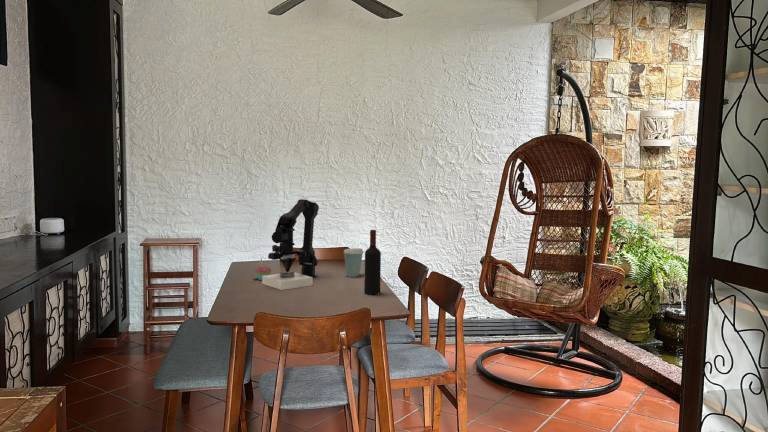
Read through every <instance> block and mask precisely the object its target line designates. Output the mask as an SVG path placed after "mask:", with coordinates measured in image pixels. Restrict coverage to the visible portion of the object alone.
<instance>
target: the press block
mask: <svg viewBox="0 0 768 432" xmlns="http://www.w3.org/2000/svg"><path fill="white" fill-rule="evenodd" d="M293 272H294V277H292V278H282V277H280V273H275V274H269V275H266V276H262V280H261V281H262V283H261V284H262V285H265V286H268V287H269V288H270V287H271V288H274V289H276V290H280V291H285V290H290V289H297V288H298V289H299V288H304V287H310V286H311V287H312V286H313V279H314V278H313V277H309V276H306V275H302V274H301V273H298V272H295V271H293Z"/></svg>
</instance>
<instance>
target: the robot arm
mask: <svg viewBox="0 0 768 432" xmlns="http://www.w3.org/2000/svg"><path fill="white" fill-rule="evenodd" d="M319 208H320V206H319V204H318V203H317V202H313V201H310V200H308V199H303V198H301V199H298V200H297V202H296V204H295V205H294V206H293V207H292V208H291V209H290V211H288V212H285V213H283V214H282V215H281V216H280V217H279V219H278V221H277V225H276V227H275V230H274V232H273V233H272V234H271V239H272V243H274V244H273V245H272V246H271V250H272V252H269V253H268V256H267V258H268V259H269V260H272V261H276V260H280V261H281V262H282V264H283V267H284V269H285V271H286V272H289V271H290V269H291V267H292V265H293V264H294V262H295V260H297V258H298V262H299V263H298V264H299V266H301V269H300V271H301V273H300V274H302V275H306V276H309V277H314V278H315V277H316V278H317V275H316V266H318V264H319V261H318V259H317V256H316V250H315V249H314V247H313V242H314V241H313V240H314V229H315V228H314V227H315V218H317V216H318V213H319V210H320V209H319ZM301 214H302V215H303V218H304V227H303V240H302V241H303V242H302V247H301V248H299V249H295V250H294V246H295V245H296V244H295V243H294V232H295V231H296V229H295V228H294V227H295V225H296V224H297V218H299V216H300V215H301ZM277 244H279V245H277ZM296 256H298V257H296Z"/></svg>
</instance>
